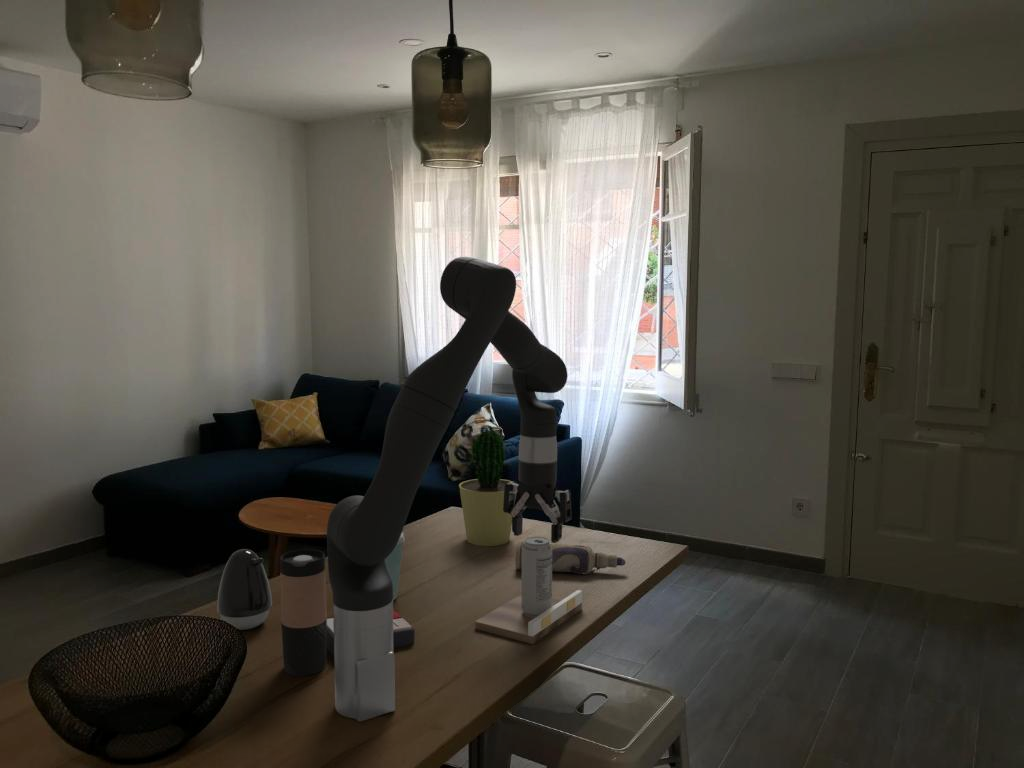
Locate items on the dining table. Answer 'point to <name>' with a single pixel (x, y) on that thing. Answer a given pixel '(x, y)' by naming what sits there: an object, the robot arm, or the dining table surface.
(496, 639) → the dining table surface
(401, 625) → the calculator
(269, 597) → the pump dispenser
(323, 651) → the travel mug
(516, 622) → the shelf board
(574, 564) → the decorative bottle
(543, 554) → the energy drink can
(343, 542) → the robot arm
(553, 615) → the price rail
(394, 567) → the disposable coffee cup
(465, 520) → the potted cactus
